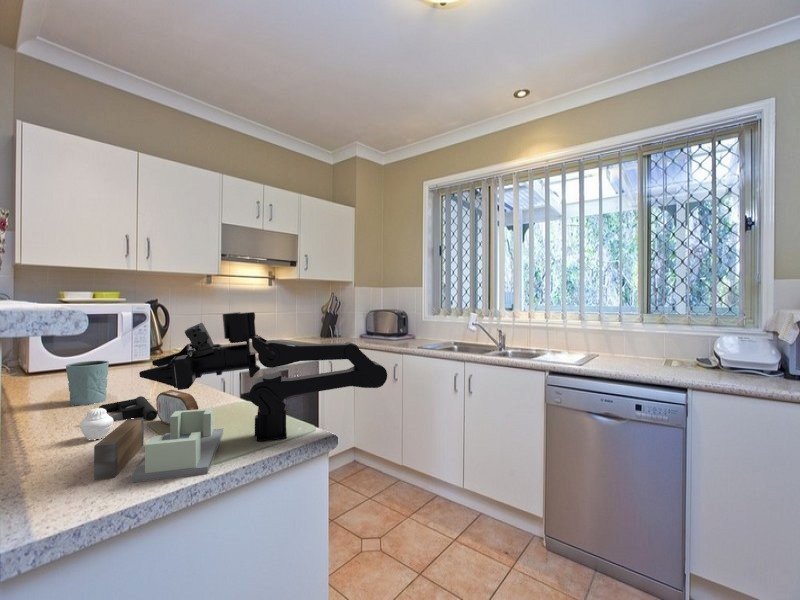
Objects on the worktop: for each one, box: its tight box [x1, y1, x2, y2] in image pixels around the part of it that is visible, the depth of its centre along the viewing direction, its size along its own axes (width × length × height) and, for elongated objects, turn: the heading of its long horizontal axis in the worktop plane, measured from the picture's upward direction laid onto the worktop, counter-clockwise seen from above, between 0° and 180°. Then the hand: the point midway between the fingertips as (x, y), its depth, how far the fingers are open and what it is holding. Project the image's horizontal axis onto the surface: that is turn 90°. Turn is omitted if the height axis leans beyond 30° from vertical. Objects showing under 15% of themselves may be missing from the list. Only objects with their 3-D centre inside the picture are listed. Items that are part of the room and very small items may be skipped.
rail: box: [93, 417, 145, 481], centre depth 76 cm, size 3×16×6 cm, turn 18°
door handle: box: [98, 395, 158, 422], centre depth 105 cm, size 3×20×16 cm
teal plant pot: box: [65, 360, 110, 406], centre depth 118 cm, size 10×10×12 cm
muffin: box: [78, 407, 115, 441], centre depth 88 cm, size 6×6×7 cm
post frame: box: [130, 407, 224, 483], centre depth 79 cm, size 12×22×6 cm, turn 18°
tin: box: [155, 389, 199, 426], centre depth 97 cm, size 15×3×8 cm, turn 59°
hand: (146, 368), depth 82 cm, fingers open, 9 cm apart
